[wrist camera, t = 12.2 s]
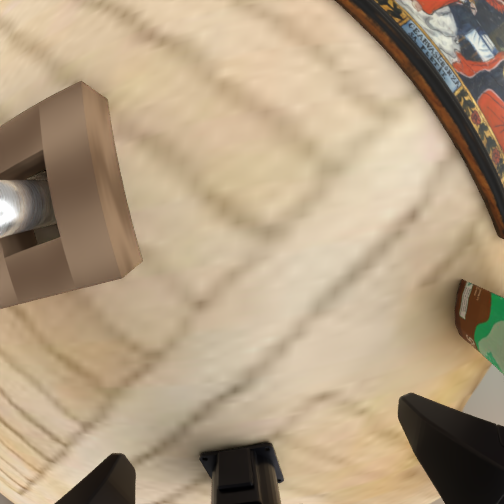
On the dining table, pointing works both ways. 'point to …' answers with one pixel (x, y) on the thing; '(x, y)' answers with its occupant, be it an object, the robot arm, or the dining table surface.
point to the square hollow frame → (67, 198)
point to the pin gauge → (25, 206)
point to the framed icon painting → (452, 74)
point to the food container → (481, 321)
